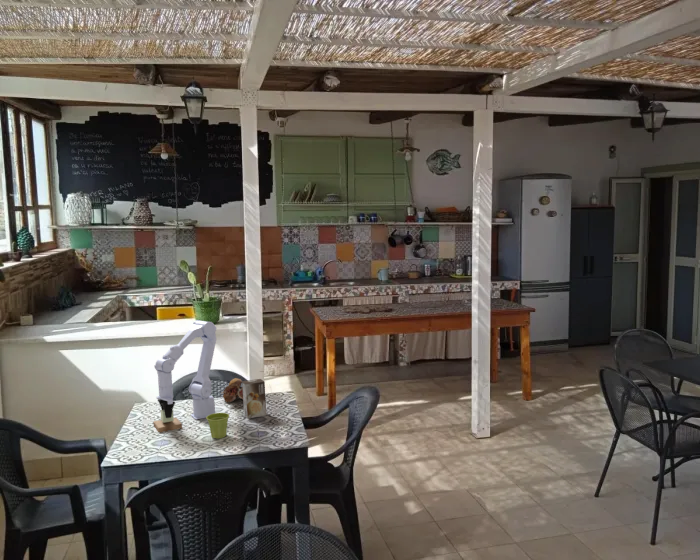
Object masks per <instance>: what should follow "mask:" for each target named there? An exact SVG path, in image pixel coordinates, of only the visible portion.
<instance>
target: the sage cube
mask: <svg viewBox="0 0 700 560" xmlns="http://www.w3.org/2000/svg"><path fill="white" fill-rule="evenodd" d="M160 418H161V419H160V420H162V422H163V423H165V422H170V421H174V418H175V416H174V410H172V416H171V418H166V416H165V412H164V410H162V409H161V410H160Z"/></svg>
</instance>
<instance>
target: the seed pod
mask: <svg viewBox="0 0 700 560" xmlns="http://www.w3.org/2000/svg"><path fill="white" fill-rule="evenodd" d="M242 381H243V380H242V379H241V378H237V377H235V378H232V379H231V380H230V381H229V383H228V385H227V386H225V387H224V388H223V389H224V390H223V391H222V392H221V394H223V395H222V397H223V400H224V402H226V403H233V402H234V401H235V400H237V398H239V399H242V400H243V386H242Z"/></svg>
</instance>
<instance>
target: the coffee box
mask: <svg viewBox="0 0 700 560" xmlns="http://www.w3.org/2000/svg"><path fill="white" fill-rule="evenodd" d="M265 383H266V381H264V380H263V379H262V378H259V379H258V378H255V379H249V380H242V383H241V386H242V387H243V399H242V401H243V416H244V417H246V418H247V419H252V418H258V417H265V416H267V402H266V386H265Z"/></svg>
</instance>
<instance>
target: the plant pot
mask: <svg viewBox="0 0 700 560" xmlns="http://www.w3.org/2000/svg"><path fill="white" fill-rule="evenodd" d="M229 418H230V414H229V413H226V412H215V413H214V414H210V415H208V416H207V417H206V418H205V419H206V420H207V422H208V425H209V426H208V427H209V431H210V436H211V438H212V439H223V438H225V437H227V431H228V421H229Z"/></svg>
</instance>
